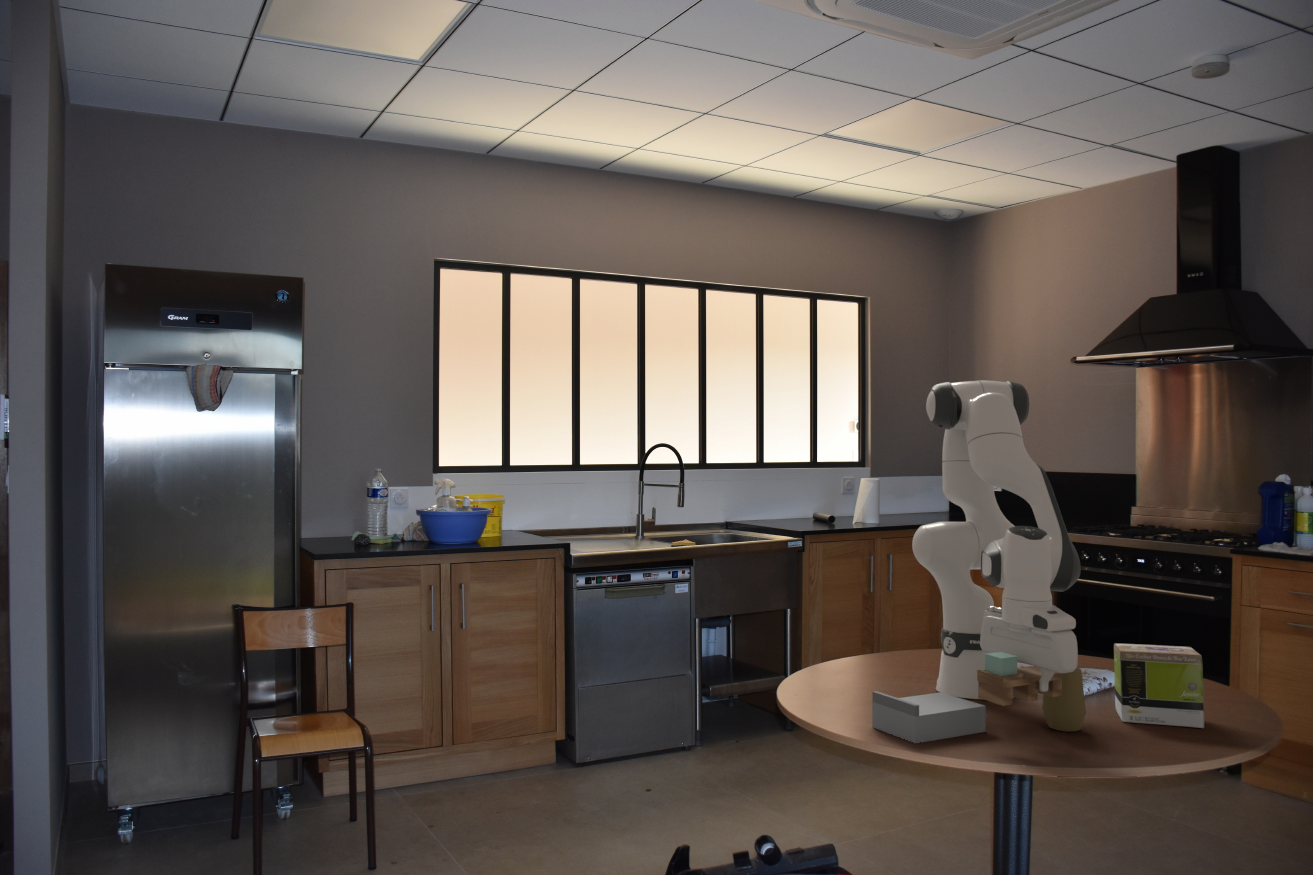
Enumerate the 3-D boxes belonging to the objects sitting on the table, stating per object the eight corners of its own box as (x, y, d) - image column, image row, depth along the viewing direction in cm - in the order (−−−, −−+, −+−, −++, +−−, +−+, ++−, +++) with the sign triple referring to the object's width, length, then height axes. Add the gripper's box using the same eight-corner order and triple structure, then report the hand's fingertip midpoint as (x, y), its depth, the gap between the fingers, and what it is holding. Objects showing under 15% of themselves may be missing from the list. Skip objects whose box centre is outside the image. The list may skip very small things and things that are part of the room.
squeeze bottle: (1083, 736, 180) (1082, 642, 180) (1038, 729, 184) (1038, 637, 184) (1088, 726, 186) (1088, 635, 187) (1045, 720, 191) (1045, 631, 191)
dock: (940, 716, 193) (940, 682, 193) (985, 731, 182) (985, 695, 182) (872, 727, 185) (872, 691, 185) (915, 743, 174) (915, 705, 174)
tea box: (1193, 717, 194) (1193, 645, 195) (1204, 730, 185) (1204, 654, 185) (1113, 710, 199) (1113, 640, 200) (1120, 722, 190) (1120, 649, 190)
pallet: (1037, 687, 183) (1037, 661, 183) (1062, 695, 178) (1063, 668, 178) (977, 697, 176) (977, 669, 176) (1002, 706, 170) (1002, 677, 170)
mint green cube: (1000, 672, 177) (1000, 651, 177) (1017, 677, 173) (1017, 656, 173) (984, 674, 175) (985, 653, 175) (1001, 680, 172) (1001, 658, 172)
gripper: (973, 604, 185) (972, 674, 185) (1059, 624, 167) (1058, 701, 167) (996, 602, 188) (995, 671, 188) (1083, 621, 170) (1082, 697, 170)
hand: (1025, 685), depth 177 cm, fingers closed on pallet, 6 cm apart
